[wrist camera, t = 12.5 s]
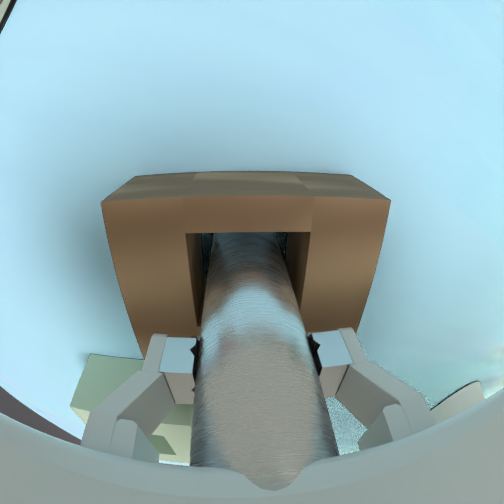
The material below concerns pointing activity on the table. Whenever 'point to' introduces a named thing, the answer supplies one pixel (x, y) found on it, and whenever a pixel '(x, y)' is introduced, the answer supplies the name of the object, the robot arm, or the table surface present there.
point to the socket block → (243, 220)
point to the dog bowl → (5, 11)
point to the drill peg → (256, 369)
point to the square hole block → (114, 375)
